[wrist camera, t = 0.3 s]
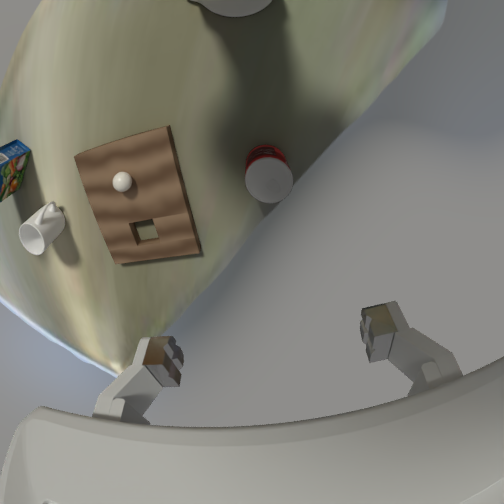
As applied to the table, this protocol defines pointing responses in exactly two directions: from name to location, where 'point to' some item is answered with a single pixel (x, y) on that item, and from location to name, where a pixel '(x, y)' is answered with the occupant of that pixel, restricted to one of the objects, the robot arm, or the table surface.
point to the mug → (42, 228)
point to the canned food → (268, 174)
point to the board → (140, 196)
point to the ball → (122, 181)
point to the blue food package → (12, 167)
